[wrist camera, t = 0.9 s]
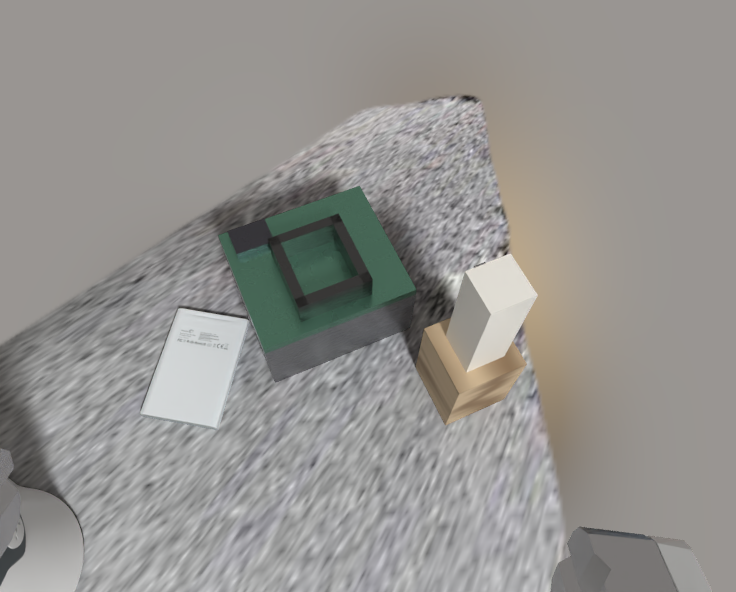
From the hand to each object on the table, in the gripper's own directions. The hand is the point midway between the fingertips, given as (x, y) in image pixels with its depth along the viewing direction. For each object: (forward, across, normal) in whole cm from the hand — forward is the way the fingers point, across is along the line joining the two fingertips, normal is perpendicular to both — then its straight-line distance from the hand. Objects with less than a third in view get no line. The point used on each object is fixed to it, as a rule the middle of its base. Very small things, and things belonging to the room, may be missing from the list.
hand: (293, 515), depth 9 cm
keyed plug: (+42, +13, -24) cm, 49 cm away
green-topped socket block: (+54, -3, -29) cm, 61 cm away
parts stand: (+47, +14, -32) cm, 58 cm away
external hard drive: (+47, -14, -36) cm, 61 cm away
